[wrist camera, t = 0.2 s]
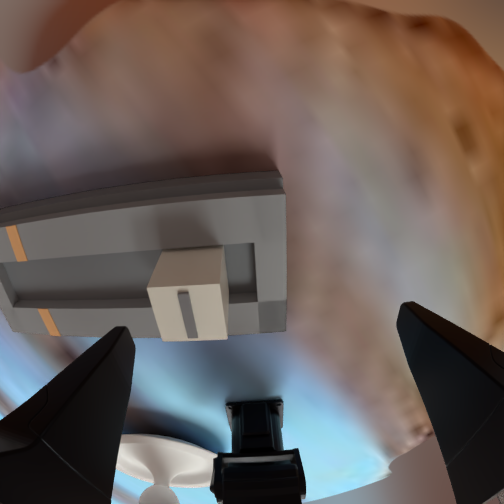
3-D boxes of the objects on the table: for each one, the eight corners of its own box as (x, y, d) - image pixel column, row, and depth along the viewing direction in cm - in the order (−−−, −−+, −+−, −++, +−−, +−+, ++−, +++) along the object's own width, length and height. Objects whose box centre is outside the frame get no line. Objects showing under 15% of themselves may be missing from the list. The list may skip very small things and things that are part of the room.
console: (281, 312, 26) (286, 338, 23) (29, 317, 26) (15, 337, 23) (278, 170, 21) (285, 183, 18) (-12, 211, 20) (-34, 226, 17)
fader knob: (229, 291, 22) (227, 341, 18) (175, 294, 22) (162, 343, 18) (223, 241, 21) (219, 285, 16) (164, 245, 20) (145, 289, 16)
